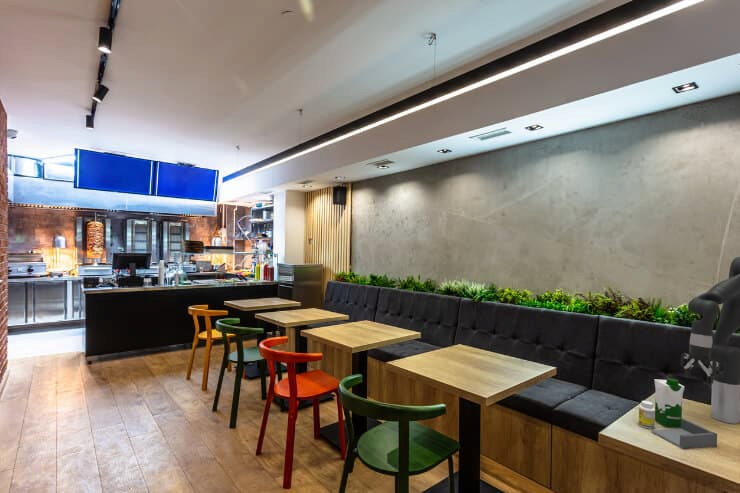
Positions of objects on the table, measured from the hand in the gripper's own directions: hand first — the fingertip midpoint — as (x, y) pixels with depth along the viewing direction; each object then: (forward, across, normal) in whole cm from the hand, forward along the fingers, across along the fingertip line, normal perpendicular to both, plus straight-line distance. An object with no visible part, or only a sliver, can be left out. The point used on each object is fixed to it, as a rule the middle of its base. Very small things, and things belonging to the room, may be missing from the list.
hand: (698, 381), depth 168 cm
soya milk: (+19, +1, +15) cm, 24 cm away
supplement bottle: (+20, +1, +26) cm, 33 cm away
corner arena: (+19, -11, +22) cm, 31 cm away
